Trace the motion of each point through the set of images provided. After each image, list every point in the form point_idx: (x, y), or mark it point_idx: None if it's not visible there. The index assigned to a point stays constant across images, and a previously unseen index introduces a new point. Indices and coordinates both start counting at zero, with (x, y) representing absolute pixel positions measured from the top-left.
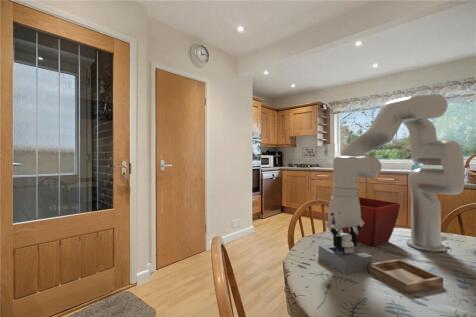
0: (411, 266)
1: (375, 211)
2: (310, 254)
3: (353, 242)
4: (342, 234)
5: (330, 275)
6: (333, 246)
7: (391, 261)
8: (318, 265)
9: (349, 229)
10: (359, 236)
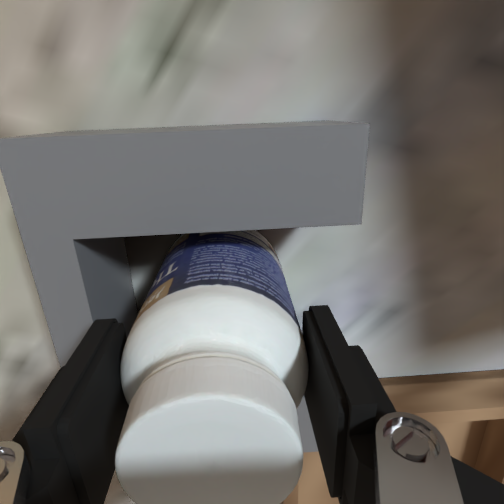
0: (502, 464)
1: None
2: (17, 18)
3: (308, 403)
4: (183, 450)
5: (35, 378)
6: (165, 214)
7: (459, 420)
8: (10, 253)
9: (377, 475)
10: None
